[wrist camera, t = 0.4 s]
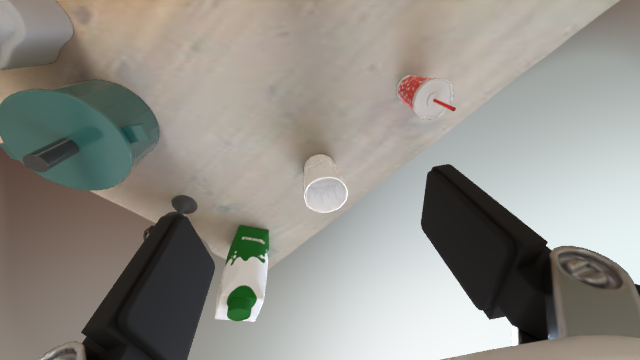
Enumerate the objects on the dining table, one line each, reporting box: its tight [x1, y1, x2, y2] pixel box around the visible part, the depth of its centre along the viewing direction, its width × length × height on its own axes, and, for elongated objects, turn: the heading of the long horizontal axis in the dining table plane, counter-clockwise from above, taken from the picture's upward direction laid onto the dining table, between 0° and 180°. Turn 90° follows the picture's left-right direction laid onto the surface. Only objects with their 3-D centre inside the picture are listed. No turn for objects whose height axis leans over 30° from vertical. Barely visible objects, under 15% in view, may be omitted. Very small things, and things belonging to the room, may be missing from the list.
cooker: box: [0, 79, 159, 168], centre depth 36 cm, size 14×19×10 cm
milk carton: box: [215, 225, 269, 322], centre depth 50 cm, size 9×9×20 cm
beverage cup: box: [396, 75, 456, 120], centre depth 37 cm, size 6×6×14 cm
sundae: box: [144, 196, 197, 241], centre depth 44 cm, size 7×7×15 cm
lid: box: [0, 89, 133, 190], centre depth 30 cm, size 15×15×6 cm
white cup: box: [303, 154, 348, 213], centre depth 46 cm, size 8×8×10 cm
